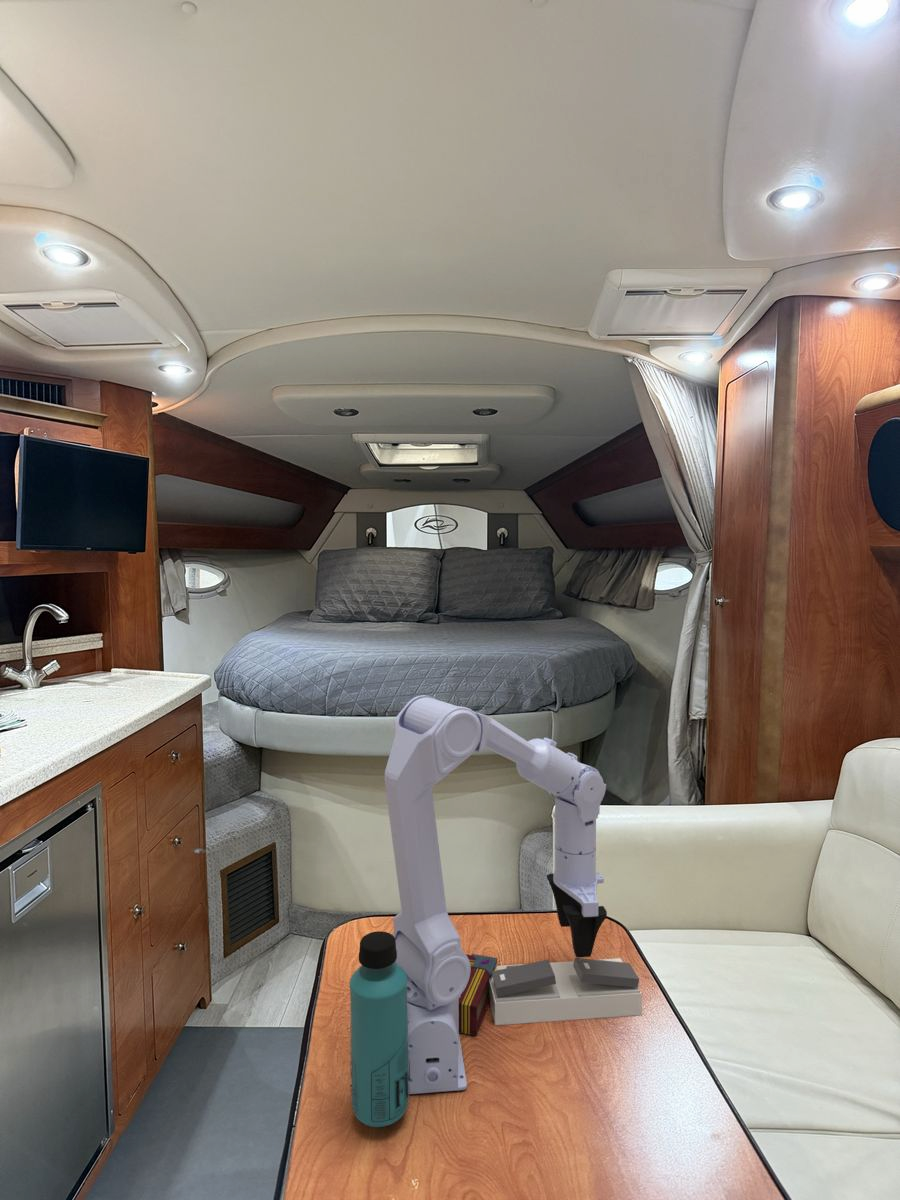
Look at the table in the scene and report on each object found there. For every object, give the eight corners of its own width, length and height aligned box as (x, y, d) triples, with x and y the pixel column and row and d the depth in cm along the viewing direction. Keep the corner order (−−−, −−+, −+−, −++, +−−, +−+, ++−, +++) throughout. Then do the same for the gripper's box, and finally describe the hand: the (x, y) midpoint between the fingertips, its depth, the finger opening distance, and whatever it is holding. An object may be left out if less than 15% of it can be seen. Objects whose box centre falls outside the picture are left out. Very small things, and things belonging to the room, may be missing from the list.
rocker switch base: (641, 1015, 88) (641, 991, 87) (495, 1025, 86) (495, 1001, 86) (620, 978, 96) (620, 956, 95) (485, 986, 94) (485, 964, 93)
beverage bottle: (401, 1147, 67) (399, 959, 67) (340, 1136, 69) (338, 952, 68) (417, 1098, 74) (415, 926, 73) (361, 1088, 75) (359, 919, 74)
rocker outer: (637, 987, 88) (639, 978, 88) (580, 982, 87) (582, 972, 87) (627, 971, 91) (629, 962, 91) (573, 966, 91) (574, 957, 91)
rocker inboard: (556, 983, 87) (554, 974, 87) (497, 996, 86) (496, 987, 86) (549, 967, 90) (548, 958, 90) (493, 979, 90) (491, 970, 89)
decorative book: (477, 1041, 83) (477, 1003, 83) (362, 1016, 88) (361, 980, 88) (497, 987, 94) (497, 954, 94) (393, 967, 99) (393, 935, 99)
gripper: (621, 868, 85) (620, 969, 86) (587, 825, 100) (586, 911, 100) (568, 870, 85) (567, 972, 85) (541, 827, 99) (541, 914, 100)
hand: (574, 939), depth 93 cm, fingers open, 7 cm apart
